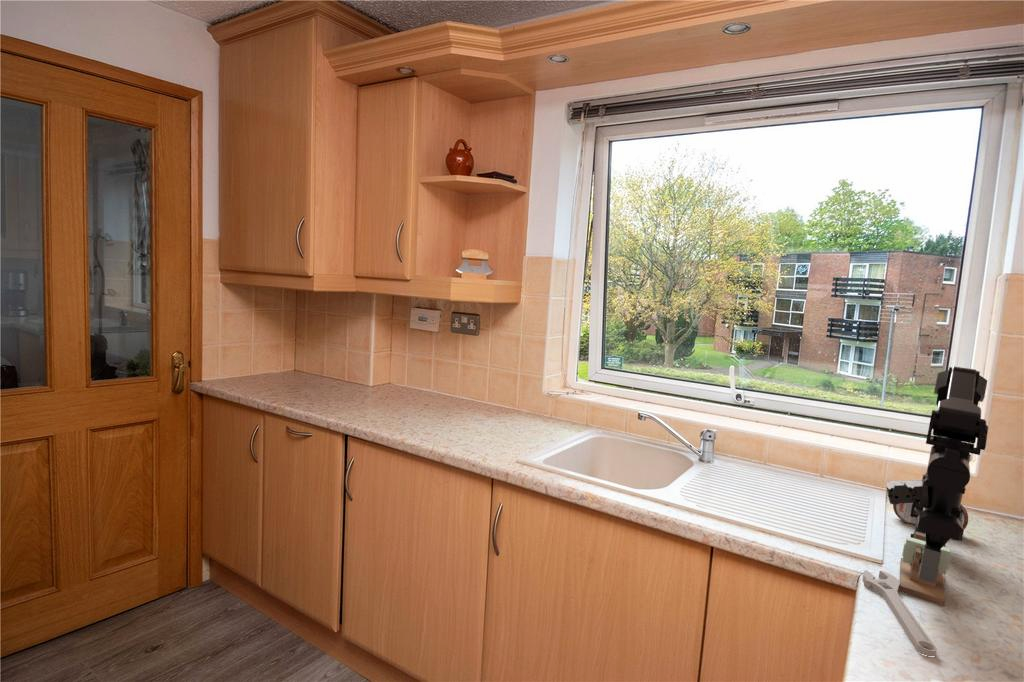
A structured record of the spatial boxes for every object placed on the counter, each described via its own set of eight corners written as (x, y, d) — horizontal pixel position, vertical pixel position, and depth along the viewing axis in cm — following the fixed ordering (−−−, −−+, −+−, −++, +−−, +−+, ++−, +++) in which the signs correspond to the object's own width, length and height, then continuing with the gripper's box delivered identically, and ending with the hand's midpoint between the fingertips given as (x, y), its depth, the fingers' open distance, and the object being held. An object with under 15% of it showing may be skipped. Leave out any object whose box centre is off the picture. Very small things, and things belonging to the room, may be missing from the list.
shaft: (918, 555, 114) (923, 527, 113) (932, 560, 113) (938, 531, 112) (918, 578, 105) (924, 548, 104) (934, 583, 104) (941, 552, 103)
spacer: (901, 557, 117) (905, 535, 116) (946, 570, 113) (951, 548, 112) (901, 560, 115) (905, 539, 114) (947, 574, 111) (951, 552, 110)
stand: (900, 563, 121) (907, 527, 120) (941, 575, 117) (948, 538, 116) (899, 591, 110) (906, 552, 108) (944, 606, 106) (952, 565, 105)
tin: (964, 535, 138) (971, 502, 136) (965, 540, 135) (972, 506, 134) (890, 515, 146) (895, 484, 145) (889, 520, 143) (895, 488, 142)
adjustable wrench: (938, 662, 90) (941, 652, 90) (891, 650, 92) (893, 640, 92) (894, 581, 113) (895, 573, 113) (857, 573, 116) (858, 565, 115)
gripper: (894, 452, 116) (881, 524, 119) (892, 476, 101) (876, 558, 103) (963, 467, 110) (947, 543, 113) (971, 495, 95) (953, 582, 97)
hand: (929, 555), depth 107 cm, fingers closed
